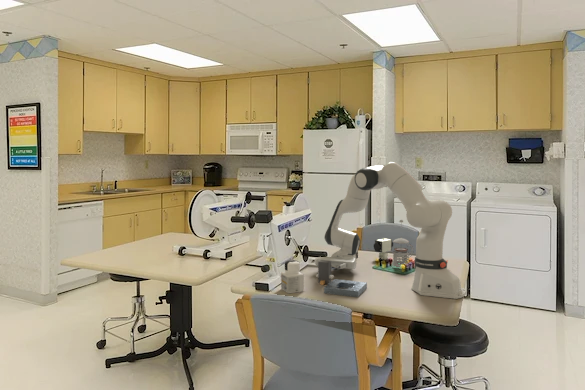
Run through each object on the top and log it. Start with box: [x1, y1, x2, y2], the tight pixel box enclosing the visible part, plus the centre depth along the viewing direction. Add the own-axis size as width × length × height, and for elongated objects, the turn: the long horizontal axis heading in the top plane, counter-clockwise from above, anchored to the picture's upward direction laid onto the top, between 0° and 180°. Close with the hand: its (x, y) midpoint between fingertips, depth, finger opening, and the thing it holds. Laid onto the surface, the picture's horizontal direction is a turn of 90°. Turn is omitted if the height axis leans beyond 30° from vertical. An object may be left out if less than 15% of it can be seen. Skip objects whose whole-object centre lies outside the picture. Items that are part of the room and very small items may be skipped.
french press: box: [392, 219, 414, 267], centre depth 240 cm, size 10×12×25 cm
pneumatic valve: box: [373, 237, 394, 260], centre depth 259 cm, size 6×12×12 cm, turn 128°
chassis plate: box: [323, 278, 368, 298], centre depth 201 cm, size 14×15×2 cm
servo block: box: [315, 260, 335, 286], centre depth 213 cm, size 6×8×10 cm
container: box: [280, 259, 305, 294], centre depth 202 cm, size 8×8×13 cm
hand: (330, 266), depth 220 cm, fingers open, 8 cm apart
